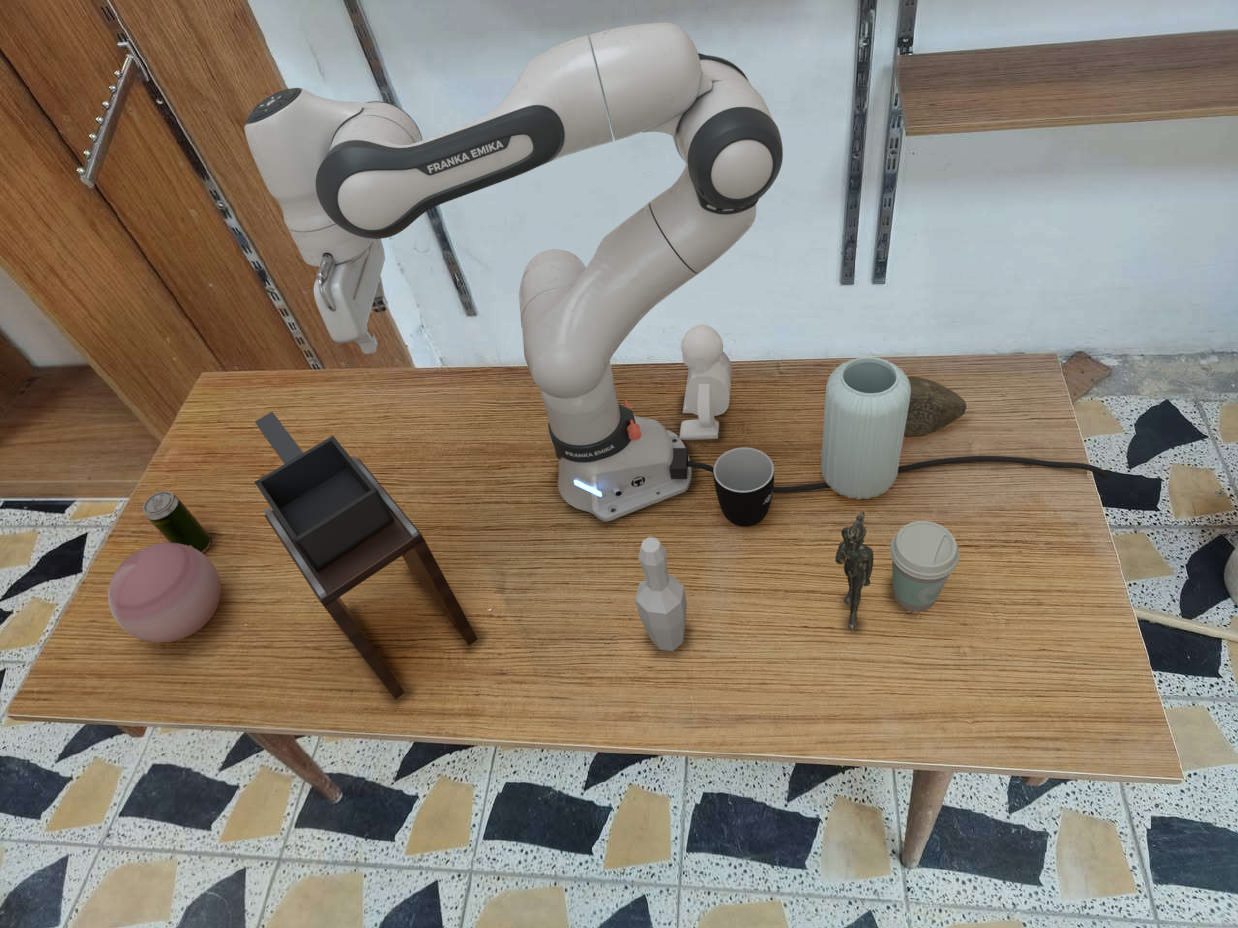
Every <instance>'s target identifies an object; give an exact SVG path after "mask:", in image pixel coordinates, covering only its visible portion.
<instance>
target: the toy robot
mask: <svg viewBox="0 0 1238 928" xmlns="http://www.w3.org/2000/svg"><path fill="white" fill-rule="evenodd" d="M680 342H681V343H680V348H681V355H682V356H681V357H682V361H683V363H684V365H685V366H686V367H687V368H688V372H687V378H686V386H685V395H684V400H683V408H682V414H693V415H695V416H697V418H696V419H686V420H683V421H682V422H681V423H680V429H679V435H678V437H679V438H680V439H681V441H700V440H719V433H720V432H719V431H720V421H719V420H717V419H715V417H717V416H720V415H723V414H724V413H725V412H726V411H727V410H728V409H729V406H730V400H731V399H730V398H731V388H732V376H733V367H732V363H731V360H730V358H729V357H728V355H727V354H726V353H725V351H723V350H724V343H723V339H722V337H721V335H720V333H719V332H718V330H716V329H715V328H714V327H712V326H710V325H709V324H697V325H695V326H693V327H691V328H689V329H688V330H687V331H686V332H685V333H684V336H683V337H682V339H681V341H680Z"/></svg>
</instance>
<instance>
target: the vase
mask: <svg viewBox="0 0 1238 928" xmlns="http://www.w3.org/2000/svg"><path fill="white" fill-rule="evenodd" d="M908 377H909V376H908V375H906V373H905V371H904V370H903V369H902V368H900V367H899V366H898V365H897V364H895V363H893V362H890V360H887V359H883V358H880V357H875V356H863V357H862V356H861V357H860V356H859V357H857V358H851V359H848V360H847V361H846V362H842V363H841V364H839V365H838V366H837V367H836V368H835V369H833V371H832V372H831V374H829V376H828V378H827V382H826V385H825V397H824V398H825V399H824V412H823V414H824V415H823V428H822V429H823V430H822V446H821V463H820V468H821V469H820V470H821V475H822V478H823V479H824V482H826V483H827V484H828V485H829V486H831V488H830V489H831V490H832V491H833V492H835V493H838V495H840V496H845V497H847V499H856V500H859V501H860V500H861V499H865V500H870V499H871V498H877V497H879V496H880V495H883V494H886V492H887V491H888V490H889V489H891V487H893V485H894V483H895V482H896V479H897V477H898V474H899V473H898V467H900V461H901V460H900V459H901V455H902V448H903V443H904V437H905V436H904V431H905V425H906V420H907V414H908V408H909V402H910V395H911V386H910V382H909V379H908Z"/></svg>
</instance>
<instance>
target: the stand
mask: <svg viewBox="0 0 1238 928" xmlns="http://www.w3.org/2000/svg"><path fill="white" fill-rule="evenodd" d="M350 457H351V458H352V459H353V460H354V462H355V463H356V464H357V465H358V467H359V468H360V469H361V470H362V471H363V473H364V474H365V475H366V476H367V478H368V479H369V480H370V481H371V482H372V484H373V485H374V486H375V487H376V489H377V490H378V491H379V493H380V495H381V497H382V499H383V500H384V502H385V504H386V506H387V507H388V509H389V511H390V513H391V515H392V516H393V518H394V521H393V522H391V523H390V524H388V525H387V526H385V527H383V528H382V529H380V530H379V531H377V532H376V533H374V534H373V535H371V536H370V537H368V538H366V539H365V540H363V541H362V542H360V543H359V544H357V545H356V546H354V547H353V548H351V549H350V550H348V551H346V552H345V553H343V554H342V555H340V556H339V557H337V558H336V559H334V560H333V561H331V562H329V563H328V564H326V565H325V566H323V567H322V568H320V569H319V570H317V571H315V570H314V568H313V567H312V565H311V564H310V563H309V561H308V560H307V559H306V557H305V556H304V555H303V553H302V552H301V551H300V549H299V548H298V546H297V545H296V544H295V542H294V541H293V539H292V538H291V536H290V535H289V533H288V532H287V530H286V529H285V527H284V526H283V524H282V523H281V521H280V520H279V518H278V517H277V515H276V514H275V512H274V511H273V509H272V508H271V507H270V506H268V507H266V508H264V509H263V513H265V514H264V515H263V516H264V518H265V519H266V521H267V522H268V523H269V524H268V525H270V527H271V528H272V531H274V533H275V535H276V536H277V538H278V539H279V542H280V543H281V544H282V545H283V547H284V549H285V550H286V552H287V553H288V555H289V557H290V558H291V559H292V561H293V562H294V564H295V566H296V567H297V568H298V570H299V572H300V574H301V575H302V576H303V578H304V579H305V581H306V582H307V584H308V585H309V587H310V588H311V590H312V592H313V593H314V595H315V596H316V598H317V599H318V601H319V603H320V604H321V605H322V606H323V607H324V609H325V610H326V611H327V613H328V614H329V615H330V617H331V618H332V620H334V621H335V623H336V625H337V626H338V627H339V629H340V630H341V631H342V632H343V634H344V636H346V637H347V639H348V640H349V641H350V643H351V644H352V646H353V647H354V648H355V649H356V651H357V652H358V653H359V655H360V656H361V657H362V658H363V659H364V661H365V663H366V664H367V665H368V666H369V668H370V669H371V671H372V672H373V673H374V674H375V676H376V677H378V679H379V680H380V682H381V683H382V685H383V686H384V687H385V689H386V690H387V691H388V692H389V694H390V695H391V696H392V697H393V699H394V700H397V699H398V698H400V697H401V696H403V695H404V694H405V691H404V688H403V687H402V686H401V684H400V682H399V681H398V680H397V679H396V677H395V675H394V673H393V672H392V670H390V668H389V667H388V666H387V663H386V662H385V660H384V659H383V658H382V656H381V655H380V653H379V652H378V650H377V649H376V647H375V646H374V645H373V642H372V641H371V640H370V638H369V637H368V635H367V634H366V633H365V631H364V629H363V628H362V627H361V625H360V623H359V622H358V621H357V619H356V618H355V616H354V615H353V613H352V612H351V610H350V609H349V607H347V605H346V604H345V602H344V600H343V599H342V598H341V597H342V596H344V595H345V594H346V593H348V592H350V591H352V590H353V589H354V588H356V587H357V586H359V585H360V584H362V583H363V582H365V581H366V580H367V579H370V578H371V577H372V576H373V575H375V574H377V573H378V572H380V571H381V570H383V569H384V568H385V567H387V566H388V565H390V564H392V563H393V562H395V561H396V560H398V559H399V558H401V557H402V560H404V562H405V564H406V566H407V567H408V569H409V571H410V573H411V574H412V575H413V576H414V578H415V579H416V580H417V582H418V583H419V584H420V586H421V587H422V588H423V590H424V591H425V592H426V593H427V594H428V596H429V597H430V598H431V599H432V601H433V602H434V604H435V605H436V606H437V607H438V608H439V610H440V611H441V613H443V615H444V616H445V617H446V619H447V620H448V621H449V623H450V624H451V625H452V626H453V628H454V629H455V630H456V632H457V633H458V634H459V635H460V637H461V638H462V639H463V640H464V642H465V643H466V645H467V646H469V647H470V646H471V645H473V643H475V642H476V641H478V639H479V638H478V637H477V635H476V633H475V631H474V629H473V627H472V625H471V624H470V622H469V620H468V618H467V616H466V614H465V613H464V612H465V611H464V610H463V609H462V606H461V605H460V603H459V601H458V599H457V598H456V596H455V594H454V592H453V590H452V588H451V586H450V584H449V582H448V581H447V579H446V577H445V575H444V573H443V571H442V569H441V568H440V565H439V564H438V562H437V560H436V558H435V556H434V554H433V552H432V551H431V548H430V547H429V545H428V543H427V541H426V539H425V537H424V536H423V534H422V533H421V531H420V530H419V529H418V527H417V526H416V525H415V524H414V523H413V522H412V520H411V519H410V518H409V516H407V514H406V513H405V512H404V511H403V509H402V508H401V507H400V505H398V504H397V502H396V501H395V500H394V499H393V497H392V496H391V495H390V493H389V492H388V491H387V490H386V489H385V488H384V487H383V486H382V484H381V483H380V482H379V480H378V479H377V478H376V477H375V476H374V475H373V473H372V472H371V471H370V470H369V469H368V467H367V466H366V465H365V463H364V462H363V461H362V460H361V459H360V458H359V457H357V456H356V455H355V454H354V455H352V456H350Z"/></svg>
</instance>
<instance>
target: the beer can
mask: <svg viewBox="0 0 1238 928" xmlns="http://www.w3.org/2000/svg"><path fill="white" fill-rule="evenodd" d="M142 511H143V513H144V515H145V517H146V519H148V521H150V523H151V524H152V525H153V527H155V528H156V529H157V530H158V532H160V534H162V536H163V537H164V538H165V539H166V540H167V541H168V543H178V544H183V545H187V546H190V547H192V548H194V549H196V550H198V551H200V552H201V553H203V554H205V553H206V552H207V550H209V548H210V546H211V543H212V541H211V540H212V539H211V535H210V533H209V532H208V531H207V530H206V529H205V527H204V526H203V525H202V524H201V523H200V522H199V521H198V520H197V519H196V517H195V516H194V515H193V514H192V512H191V511H190V510H189V509H188V508H187V507H186V506H185V504H184V503H183V502H182V501H181V500H180V498H179V497H177V495H176V494H173V493H172V492H171V491H168V490H161V491H158V492H155V493H154V494H152V495H151V496H149V497H148V498H147V499H146V500H145V501H144V503H143V505H142Z"/></svg>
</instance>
